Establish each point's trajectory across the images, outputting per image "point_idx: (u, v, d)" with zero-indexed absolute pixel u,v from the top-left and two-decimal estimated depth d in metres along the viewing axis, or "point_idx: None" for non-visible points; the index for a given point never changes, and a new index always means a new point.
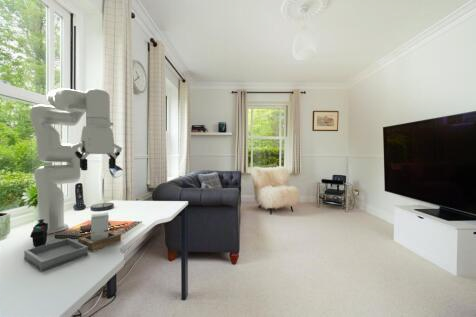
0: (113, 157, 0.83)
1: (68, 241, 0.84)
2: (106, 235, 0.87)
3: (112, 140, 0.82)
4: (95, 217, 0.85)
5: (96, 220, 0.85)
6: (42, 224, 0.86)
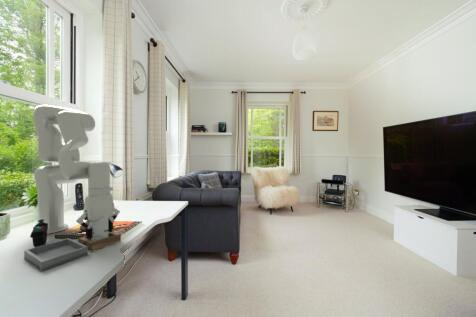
0: (110, 221, 0.90)
1: (68, 241, 0.84)
2: (106, 235, 0.87)
3: (112, 205, 0.90)
4: None
5: None
6: (42, 224, 0.86)
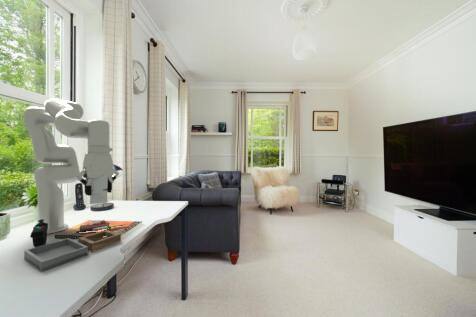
0: (110, 181, 0.90)
1: (68, 241, 0.84)
2: (105, 194, 0.87)
3: (111, 165, 0.89)
4: None
5: None
6: (42, 224, 0.86)
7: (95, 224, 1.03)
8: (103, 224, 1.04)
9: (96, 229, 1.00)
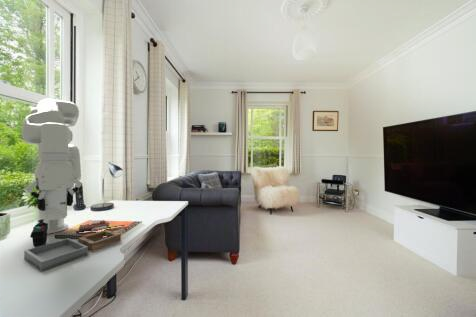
0: (70, 193, 0.78)
1: (68, 241, 0.84)
2: (63, 208, 0.75)
3: (71, 174, 0.78)
4: None
5: None
6: (42, 224, 0.86)
7: (95, 224, 1.03)
8: (102, 224, 1.04)
9: (95, 229, 1.00)
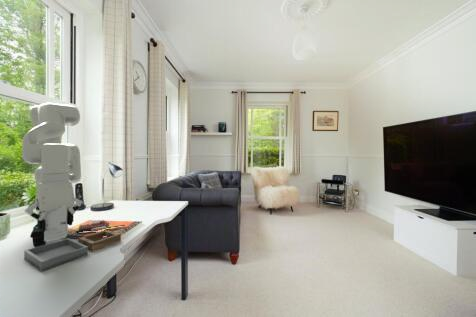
0: (70, 212, 0.79)
1: (68, 241, 0.84)
2: (63, 228, 0.75)
3: (71, 193, 0.78)
4: None
5: None
6: None
7: (94, 224, 1.03)
8: (102, 224, 1.03)
9: (95, 229, 1.00)
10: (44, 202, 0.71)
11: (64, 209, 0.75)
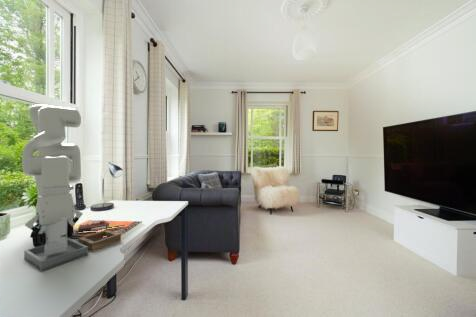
0: (70, 224, 0.79)
1: (68, 241, 0.84)
2: (63, 241, 0.76)
3: (72, 206, 0.78)
4: None
5: None
6: None
7: (94, 224, 1.03)
8: (102, 224, 1.03)
9: (94, 229, 1.00)
10: (44, 216, 0.71)
11: (64, 222, 0.76)
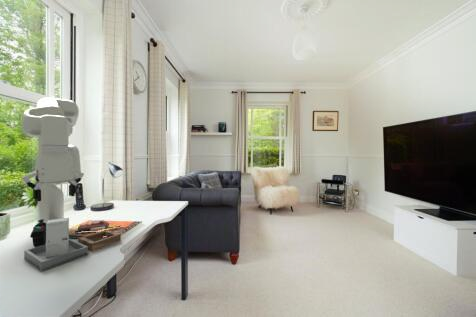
0: (73, 184, 0.79)
1: None
2: (65, 244, 0.76)
3: (71, 167, 0.78)
4: (51, 223, 0.74)
5: (52, 226, 0.74)
6: (42, 224, 0.86)
7: (94, 224, 1.03)
8: (101, 224, 1.03)
9: (93, 229, 1.00)
10: (44, 173, 0.71)
11: (65, 225, 0.76)
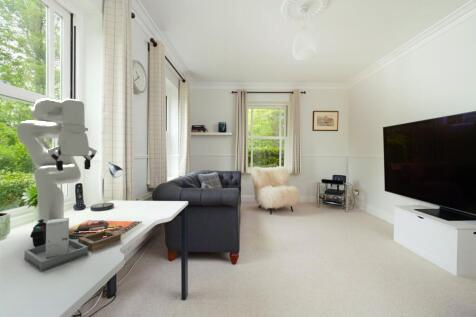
0: (88, 159, 0.93)
1: None
2: (65, 244, 0.76)
3: (87, 144, 0.92)
4: (51, 223, 0.74)
5: (52, 226, 0.74)
6: (42, 224, 0.86)
7: (93, 224, 1.03)
8: (101, 224, 1.03)
9: (92, 229, 1.00)
10: (65, 147, 0.85)
11: (65, 225, 0.76)
